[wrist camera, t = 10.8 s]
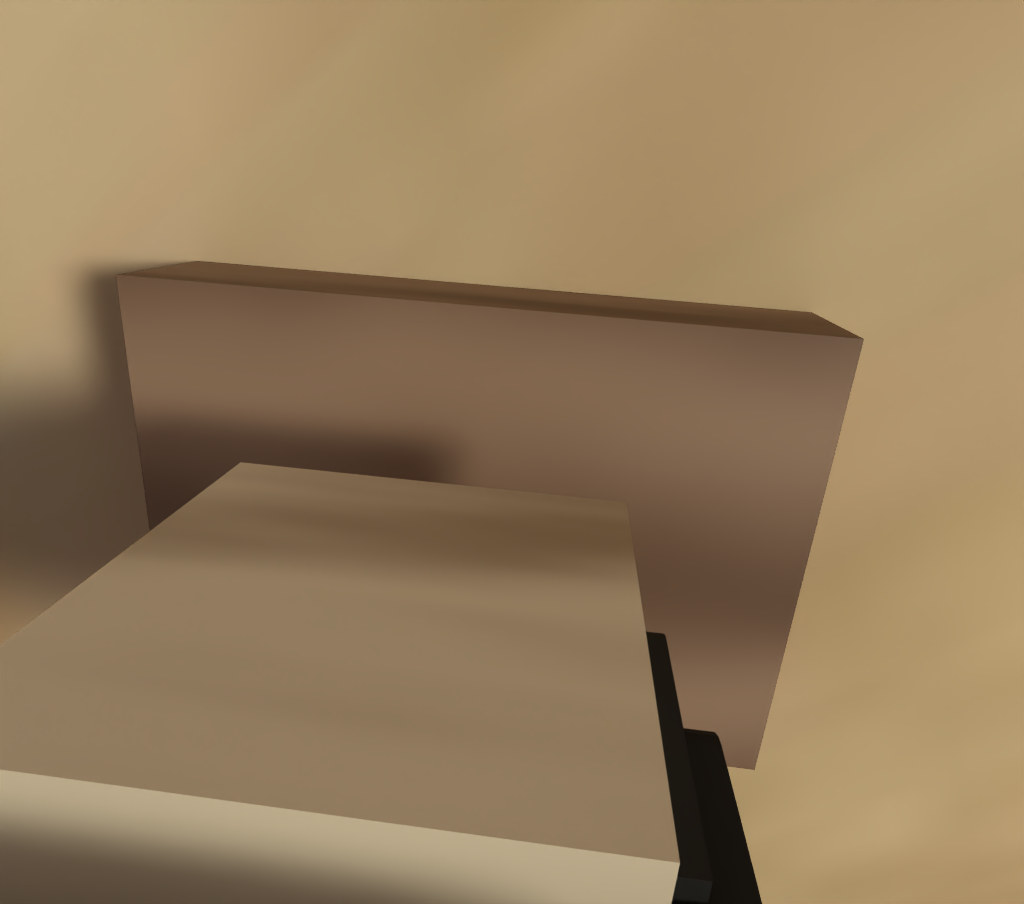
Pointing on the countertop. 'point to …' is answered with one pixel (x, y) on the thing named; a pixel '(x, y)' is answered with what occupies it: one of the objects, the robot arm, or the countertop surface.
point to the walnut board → (523, 427)
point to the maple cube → (342, 706)
